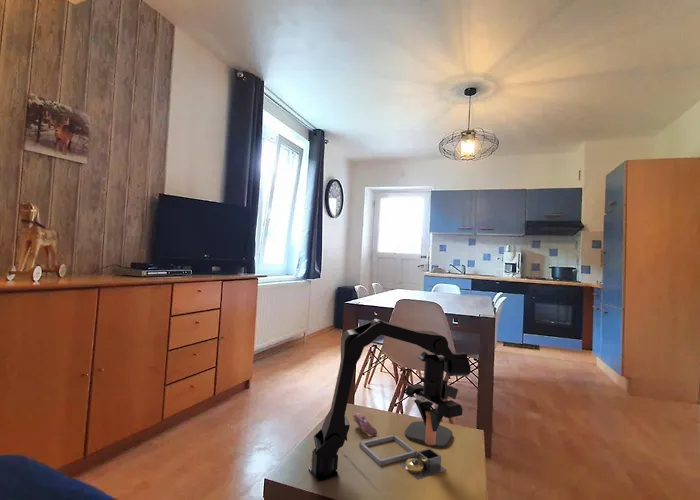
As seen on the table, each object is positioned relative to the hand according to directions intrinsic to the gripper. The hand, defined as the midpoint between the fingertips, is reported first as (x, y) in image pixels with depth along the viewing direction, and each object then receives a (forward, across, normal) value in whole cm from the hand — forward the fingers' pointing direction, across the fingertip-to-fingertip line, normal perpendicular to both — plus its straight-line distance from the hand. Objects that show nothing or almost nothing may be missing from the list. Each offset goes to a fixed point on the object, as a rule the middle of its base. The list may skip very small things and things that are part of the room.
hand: (430, 428), depth 108 cm
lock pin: (+4, 0, 0) cm, 4 cm away
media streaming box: (+12, +14, -12) cm, 22 cm away
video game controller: (+12, +27, +6) cm, 30 cm away
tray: (+11, +11, +7) cm, 17 cm away
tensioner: (+11, 0, +3) cm, 12 cm away
